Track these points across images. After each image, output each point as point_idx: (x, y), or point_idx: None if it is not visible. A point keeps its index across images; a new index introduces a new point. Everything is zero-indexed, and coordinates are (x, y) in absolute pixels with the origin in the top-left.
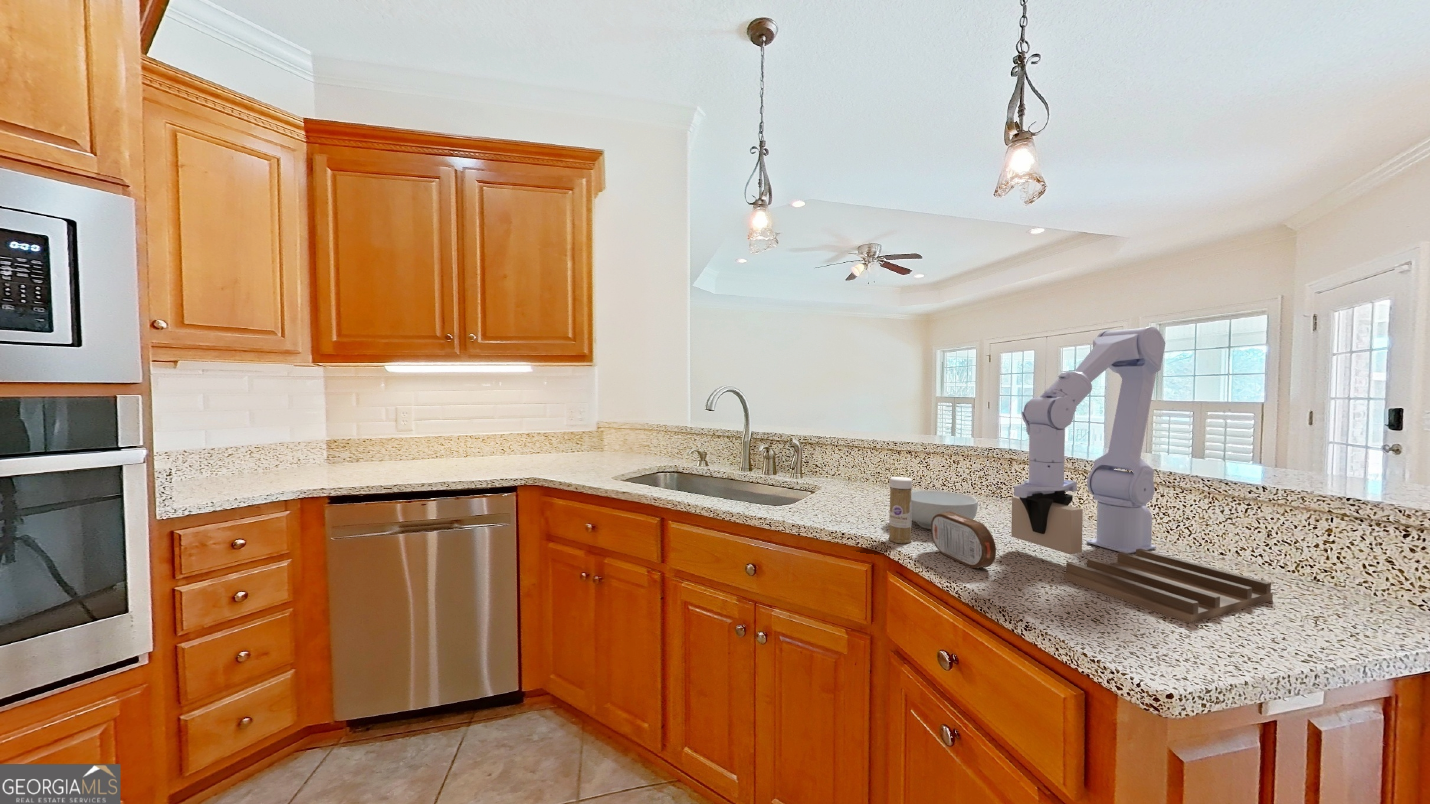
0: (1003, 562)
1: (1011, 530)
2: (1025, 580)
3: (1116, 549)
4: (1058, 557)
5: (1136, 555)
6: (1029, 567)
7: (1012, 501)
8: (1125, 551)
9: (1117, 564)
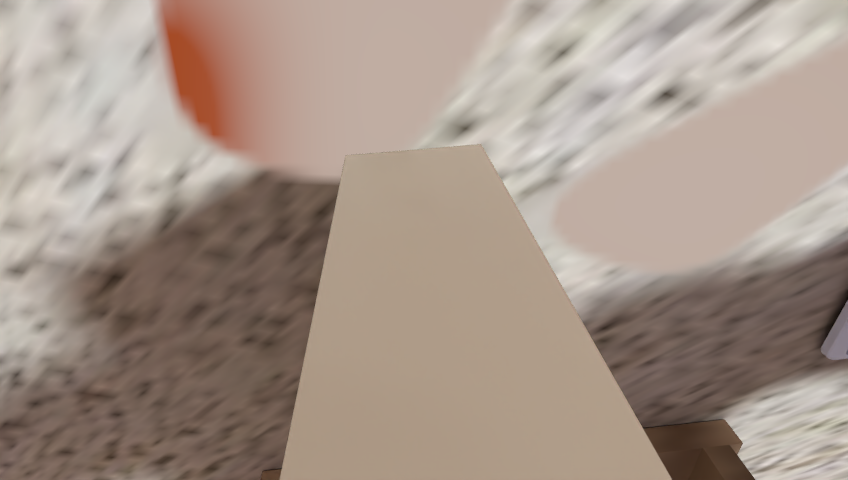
0: (122, 294)
1: (341, 177)
2: (93, 456)
3: (843, 324)
4: None
5: (710, 459)
6: (220, 369)
7: (284, 474)
8: (827, 355)
9: None
